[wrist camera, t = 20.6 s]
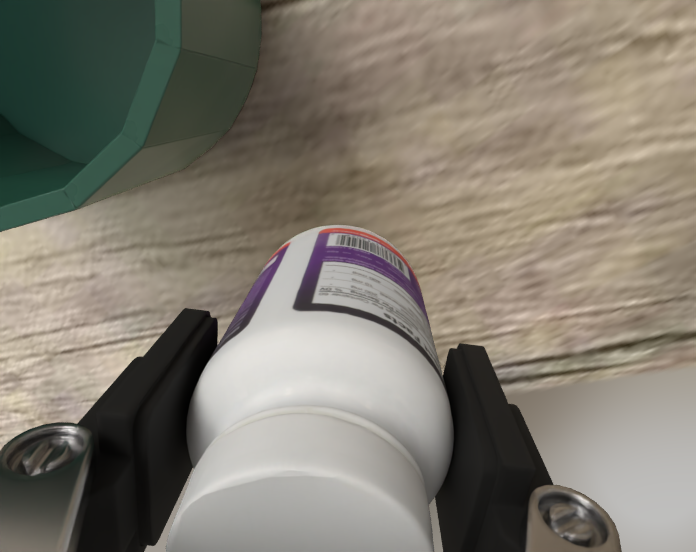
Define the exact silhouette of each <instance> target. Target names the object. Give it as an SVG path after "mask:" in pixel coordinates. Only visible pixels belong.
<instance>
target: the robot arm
mask: <svg viewBox="0 0 696 552" xmlns="http://www.w3.org/2000/svg"><path fill="white" fill-rule="evenodd" d="M217 338H218V321H217V318H212V317H211V315H210V312H209V311H203V310H196V309H188V308H185V309H184V310H183V311H182V312H181V313H180V314H179V315H178V316H177V318H176V319H175V320H174V321H173V322H172V324H171V325H170V326H169V327H168V328H167V329H166V331H165V332H164V333H163V334H162V335H161V336H160V338H159V339H158V340H157V341H156V342H155V344H154V345H153V346H152V347H151V348H150V349H149V351H148V352H147V353H146V354H145V355H144V357H136V358H135V359H134V360H133V361H132V362H131V363H130V364H129V365H128V367H127V368H126V369H125V370H124V371H123V372H122V373H121V375H120V376H119V377H118V378H117V379H116V380H115V381H114V383H113V384H112V385H111V386H110V387H109V388H108V389H107V391H106V392H105V393H104V394H103V395H102V396H101V397H100V399H99V400H98V401H97V402H96V403H95V404H94V405H93V407H92V408H91V409H90V410H89V411H88V412H87V413H86V415H85V416H84V417H83V418H82V419H81V420H80V421H79V423H78V424H74V423H62V422H57V423H51V424H45V425H41V426H38V427H35V428H32V429H29V430H27V431H25V432H23V433H21V434H20V435H18V436H16V437H14V438H13V439H12V440H11V441H9V442H8V443H7V444H5V445H4V447H3V448H2V449H1V451H0V552H144V551H145V548H146V546H147V545H151V546H154V545H156V543H157V542H158V540H159V538H160V536H161V534H162V532H163V529H164V527H165V525H166V523H167V521H168V519H169V517H170V515H171V512H172V510H173V508H174V506H175V504H176V502H177V500H178V498H179V496H180V493H181V491H182V489H183V487H184V485H185V483H186V481H187V478H188V476H189V474H190V472H191V470H192V468H193V465H192V462H191V459H190V456H189V451H188V446H187V436H186V425H187V415H188V409H189V404H190V400H191V397H192V394H193V392H194V389H195V387H196V384H197V382H198V380H199V377H200V375H201V373H202V371H203V370H204V368H205V366H206V364H207V362H208V361H209V359H210V358H211V356H212V354H213V353H214V351H215V349H216V347H217ZM443 379H444V383H445V386H446V390H447V394H448V397H449V402H450V409H451V414H452V420H453V426H454V444H453V453H452V458H451V462H450V466H449V469H448V472H447V475H446V477H445V480H444V482H443V484H442V486H441V488H440V490H439V491H438V493H437V494H436V496H435V499H436V506H437V513H438V519H439V526H440V532H441V539H442V545H443V552H622V551H621V545H620V539H619V534H618V531H617V529H616V526H615V523H614V522H613V521H612V519H611V518H610V516H609V515H608V513H607V512H606V511H605V510H604V509H603V508H601V507H600V506H599V505H598V504H597V503H596V502H595V501H593V500H592V499H590V498H589V497H587V496H586V495H584V494H582V493H580V492H578V491H576V490H573V489H571V488H567V487H563V486H559V485H553V483H552V480H551V478H550V476H549V474H548V471H547V469H546V467H545V465H544V462H543V460H542V458H541V456H540V454H539V452H538V449H537V447H536V445H535V443H534V440H533V438H532V436H531V434H530V432H529V429H528V427H527V425H526V423H525V421H524V418H523V416H522V414H521V412H520V410H519V408H518V407H517V406H516V405H514V404H508V402H507V399H506V397H505V395H504V392H503V390H502V388H501V385H500V383H499V381H498V378H497V376H496V374H495V371H494V369H493V367H492V364H491V362H490V360H489V357H488V355H487V353H486V350H485V348H484V347H483V346H476V345H469V344H461V343H460V344H459V345H458V347H457V349H454V348H450V350H449V353H448V356H447V361H446V365H445V370H444V374H443Z"/></svg>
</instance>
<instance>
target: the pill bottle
mask: <svg viewBox="0 0 696 552" xmlns="http://www.w3.org/2000/svg"><path fill="white" fill-rule="evenodd" d="M186 436H187V446H188V451H189V456H190V459H191V462H192V465H193V468H194V471H193V473H192V475H191V478H190V481H189V484H188V487H187V489H186V492H185V494H184V497H183V499H182V502H181V504H180V507H179V509H178V511H177V514H176V516H175V519H174V521H173V524H172V527H171V529H170V532H169V535H168V539H167V545H166V552H434V545H433V534H432V525H431V517H430V511H429V504H430V502H431V501H432V500H433V499H434V497H435V496H436V494H437V493H438V491H439V490H440V488H441V486H442V484H443V482H444V480H445V477H446V475H447V472H448V469H449V466H450V462H451V458H452V453H453V444H454V426H453V420H452V414H451V409H450V402H449V397H448V394H447V390H446V386H445V383H444V379H443V375H442V371H441V367H440V364H439V360H438V356H437V353H436V348H435V345H434V341H433V337H432V333H431V328H430V324H429V320H428V316H427V313H426V309H425V305H424V301H423V297H422V293H421V289H420V286H419V283H418V281H417V278H416V275H415V273H414V271H413V269H412V267H411V265H410V264H409V262H408V261H407V259H406V258H405V257H404V256H403V254H402V253H401V252H400V251H399V250H398V249H397V248H396V247H395V246H394V245H392V244H391V243H390V242H389V241H387V240H386V239H384V238H383V237H381V236H379V235H377V234H375V233H373V232H371V231H368V230H366V229H363V228H359V227H354V226H348V225H329V226H321V227H317V228H313V229H310V230H307V231H304V232H302V233H300V234H298V235H296V236H295V237H293V238H291V239H290V240H289V241H287V242H286V243H284V244H283V245H282V246H281V247H280V248H279V249H278V250H277V251H276V252H275V253H274V254H273V255H272V256H271V258H270V259H269V260H268V262H267V263H266V265H265V266H264V268H263V269H262V271H261V273H260V274H259V276H258V278H257V280H256V281H255V283H254V285H253V287H252V288H251V290H250V292H249V294H248V295H247V297H246V299H245V301H244V302H243V304H242V306H241V307H240V309H239V311H238V312H237V314H236V316H235V317H234V319H233V321H232V322H231V324H230V325H229V327H228V329H227V331H226V332H225V334H224V336H223V338H222V339H221V341H220V343H219V344H218V346H217V347H216V349H215V351H214V353H213V354H212V356H211V358H210V359H209V361H208V362H207V364H206V366H205V368H204V370H203V371H202V373H201V375H200V377H199V380H198V382H197V384H196V387H195V389H194V392H193V394H192V397H191V400H190V404H189V409H188V415H187V425H186Z"/></svg>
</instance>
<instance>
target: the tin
mask: <svg viewBox="0 0 696 552" xmlns="http://www.w3.org/2000/svg"><path fill="white" fill-rule="evenodd" d="M260 1H261V0H0V232H2V231H5V230H9V229H12V228H16V227H19V226H23V225H26V224H29V223H33V222H36V221H40V220H43V219H47V218H50V217H54V216H57V215H60V214H64V213H67V212H71V211H74V210H77V209H80V208H83V207H85V206H88V205H90V204H93V203H96V202H98V201H101V200H103V199H106V198H109V197H111V196H114V195H117V194H119V193H122V192H124V191H127V190H130V189H132V188H135V187H138V186H140V185H143V184H145V183H148V182H151V181H153V180H156V179H159V178H161V177H164V176H166V175H169V174H172V173H174V172H177V171H180V170H182V169H185V168H186V167H188V166H189V165H190V164H191V163H192V162H193V161H195V160H196V159H197V158H198V157H200V156H201V155H202V154H204V153H205V152H206V151H208V150H209V149H210V148H211V147H212V146H213V145H214V144H215V143H216V142H217V141H218V140H219V139H220V138H221V137H222V136H223V135H224V134H225V133H226V132H227V131H228V130H229V128H231V126H232V124H233V122H234V120H235V119H236V118H237V116H238V114H239V112H240V110H241V108H242V106H243V105H244V103H245V101H246V99H247V96H248V93H249V91H250V88H251V85H252V83H253V80H254V76H255V73H256V71H257V64H258V59H259V52H260V43H261V3H260Z"/></svg>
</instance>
